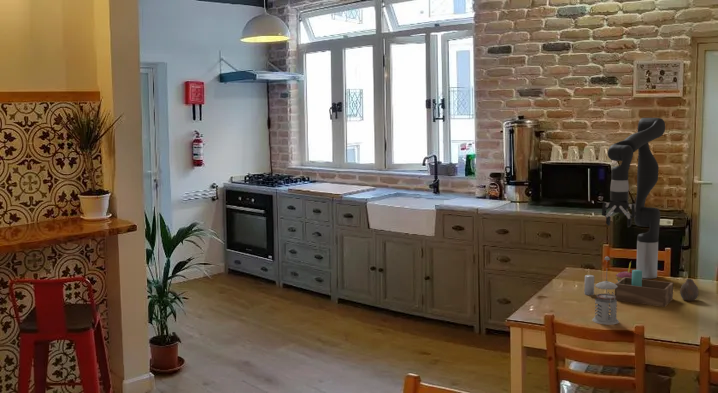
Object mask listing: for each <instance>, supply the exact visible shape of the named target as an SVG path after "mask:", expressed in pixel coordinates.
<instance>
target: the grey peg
mask: <svg viewBox="0 0 718 393" xmlns="http://www.w3.org/2000/svg"><path fill="white" fill-rule="evenodd" d="M583 294H584V295H586V296H594V295H595V275H592V274H586V275H584V293H583Z"/></svg>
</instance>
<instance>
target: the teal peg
mask: <svg viewBox="0 0 718 393" xmlns="http://www.w3.org/2000/svg"><path fill="white" fill-rule="evenodd" d="M631 273H632V285H633V286H641V287H642V279H643V278H642V271H641V270H636V269H632V270H631Z"/></svg>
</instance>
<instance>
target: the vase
mask: <svg viewBox="0 0 718 393" xmlns="http://www.w3.org/2000/svg"><path fill="white" fill-rule="evenodd" d="M679 291H680V292H679V293H680V297H681V299H683V300H684V301H686V302H694V301H695V300H697V299H698V296H699V288H698V286H697V284H696V283H695V281H694V280H693V279H692V278H687V279H686V280H685V281H684V283H682V285H681V287H680V290H679Z"/></svg>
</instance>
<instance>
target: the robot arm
mask: <svg viewBox="0 0 718 393" xmlns="http://www.w3.org/2000/svg"><path fill="white" fill-rule="evenodd" d="M665 132H666V122H665V120H664V119H663V118H661V117H641V118H640V119H639V121H638V122H637V132H634V133H632V134H630V135H629V136H627V137H625V139H624V140H623V139H622V140H619V141H617V142H616V143H612V144H611V145H610V146H609V147H608V149H607V157H608V158H609V159H610V160H611V161H616V162H621V163H620V165H617V166H613V167H612V168H611V173H610V174H611V181H610V188H609V189H610V194H609V196H610V197H609V198H610V199H609V200H610V201H609V202H607V201H604V202H602V208H601V216H604V217H605V224H606V225H607V226H609V227H610V226H611V215H612V214H613V213H614V214H617V213H619V214H624V216H626V218H627V220H626V227H627V228H630V227H631V226H632V223H633V222H632V219H634V223H635V224H634V225H636V226H637V227H644V228H645V227H646V228H649V230H648V231H646V232H642V233H639V234H637V237H636V269H635V270H641V271H642V279H646V280H652V279H657V277H658V263H659V262H658V261H659V260H658V259H659V257H658V256H659V255H658V254H659V237H660V236H659V234H660V224H661V212H660V209H659V208H658V207H657V208H656V207H646V206H645V204H646V200H647V197H648V195H649V194H650V193H651V191H652V190H653V189H654V187H655V186H656V184H657V182H658V180H659V168H660V167H659V164H658V161H657V160H656V158H655V156H654V154H653V153H652V151H651V148H650V145H649V143H650V142H652V141H654V140H657V139H658V138H660V137H662V136H663V135H664V134H665ZM636 151H638V153H637V173H636V198H635V203H629V190H630V188H629V186H630V185H629V172H630V171H629V169H630V168H631V163H632V160H633V157H634V153H635V152H636ZM608 207H610V210H609V211H608V212H607V208H608ZM629 207H630V208H629ZM628 209H630V210H631V213H630V211H629V210H628Z"/></svg>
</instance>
